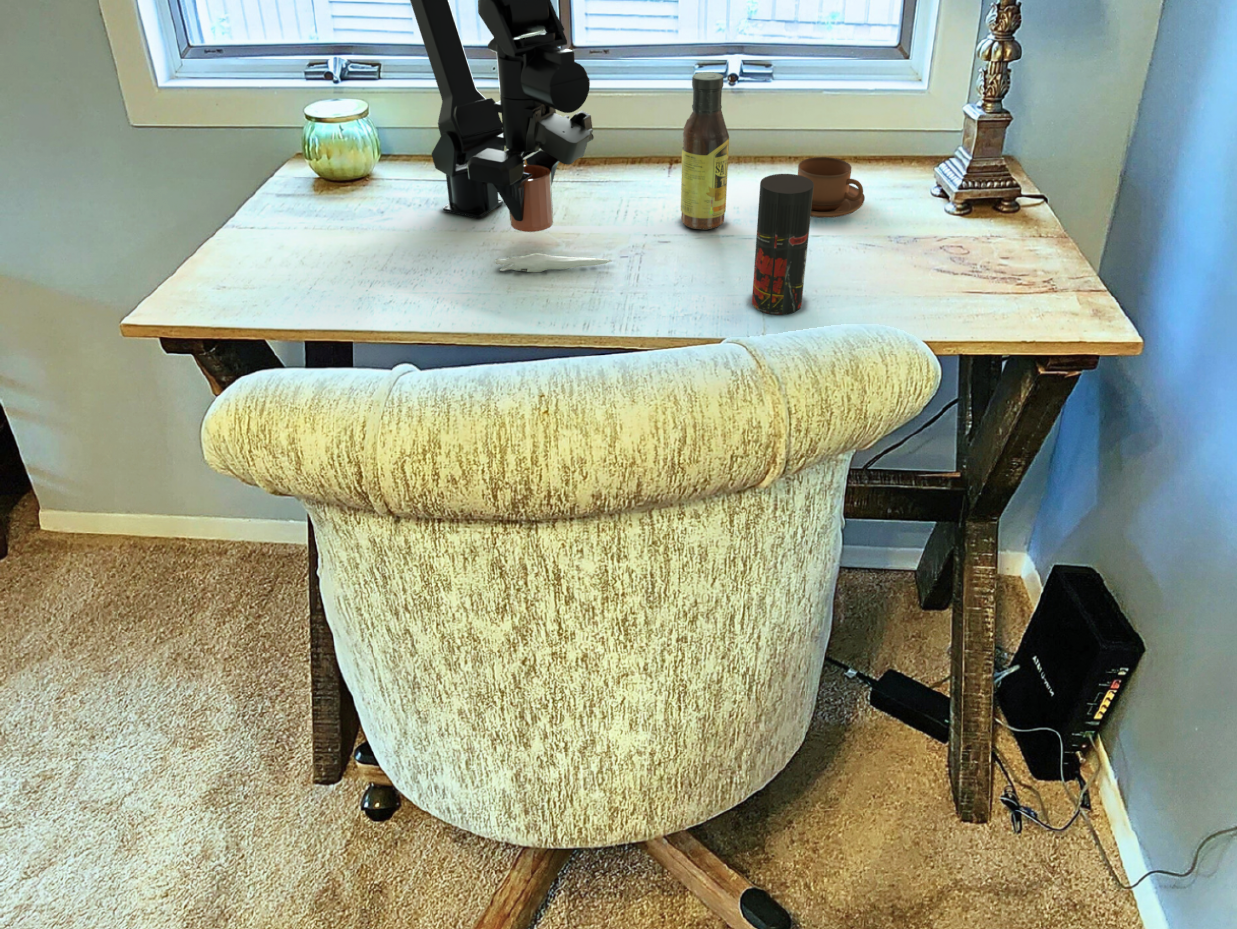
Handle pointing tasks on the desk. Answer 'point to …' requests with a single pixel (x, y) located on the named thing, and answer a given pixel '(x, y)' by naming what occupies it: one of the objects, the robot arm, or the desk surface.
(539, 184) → the cup
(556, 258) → the white elongated piece
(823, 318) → the desk surface
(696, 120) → the sauce bottle
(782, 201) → the deodorant
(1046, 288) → the desk surface
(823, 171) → the cup and saucer
